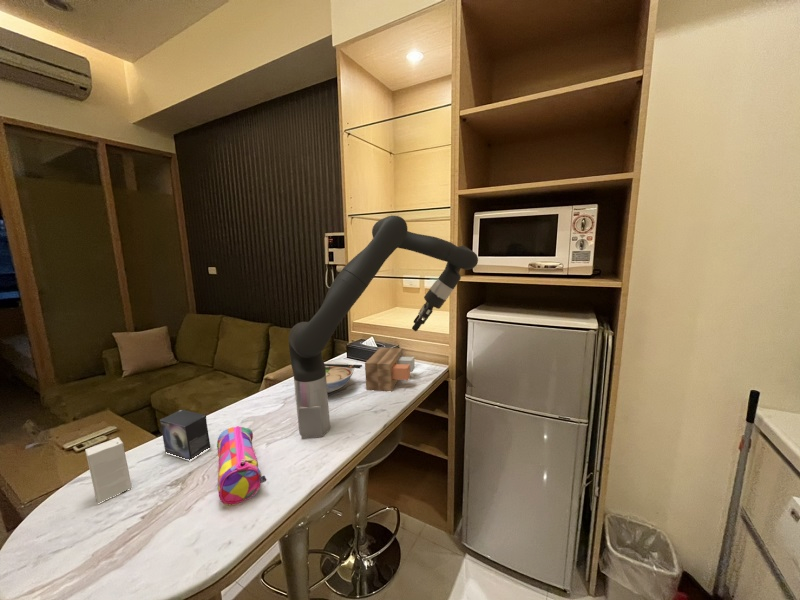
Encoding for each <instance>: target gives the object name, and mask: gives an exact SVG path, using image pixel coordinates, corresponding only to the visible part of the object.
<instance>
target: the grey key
mask: <svg viewBox="0 0 800 600" xmlns="http://www.w3.org/2000/svg"><path fill="white" fill-rule="evenodd" d="M398 364H410V373H413V371H414V370H415V367H416V366H415V356H402V357H399V358H398Z"/></svg>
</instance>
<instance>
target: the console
mask: <svg viewBox="0 0 800 600" xmlns="http://www.w3.org/2000/svg"><path fill="white" fill-rule="evenodd" d="M399 357H403V348H402V347H398V348H397V347H379V348H378V349H377V350H376V351H375V352H374V353H373V354H372V355H371V357H369V358H368V359H367V360H366V361H365V362H364V370H365V374H364V375H365V388H366V391H372V390H374V391H375V392H387V391H391V392H392V391H393V390H394V388H395V386H396V385H395V384H397V383H398V381H399V380H397V379H392V367H393V365H394V364H398V358H399ZM392 389H393V390H392Z"/></svg>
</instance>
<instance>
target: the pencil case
mask: <svg viewBox="0 0 800 600" xmlns="http://www.w3.org/2000/svg"><path fill="white" fill-rule="evenodd" d="M253 438H254V434H253V430H251V428H249V427H248V428H247V427H244V426H235V427H234V426H233V427H230V428H226V429H224V430H223V431H222V432H221V433H220V434H219V435H218V438H217V442H216V447H217V456H218V471H217V472H218V473H217V475H218V476H217V490H218V491H217V492H218V498H219V500H220V502H221V503H222V504H224V505H226V506H235V505H237V504H240V503H243V502H246V501H248V500H249V499H251V498H252V497H254V496H255V495H256V494H257V492H258V490H259V489H260V488H261V484H262V483H265V482H267V480H268V479H267V478H266V476H265V475H262V473H261V470H260V468H259V462H258V458H257V456H256V452H255V450H254V446H253Z"/></svg>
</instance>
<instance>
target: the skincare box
mask: <svg viewBox="0 0 800 600" xmlns="http://www.w3.org/2000/svg"><path fill="white" fill-rule="evenodd" d="M124 445H125V444H124V442H123V441H122V440H121V438H120V436H119V437H118V436H117V437H115V438H112V439H110V440H107V441H104V442H102V443H101V442H100V443H98V444H95V445H93V446H91V447H89V448H86V449H85V450H84V451H85V455H86V459H87V460H86V461H87V465H88V469H89V473H90V477H91V482H92V487H93V491H94V495H95V498H96V502H97V504H98V503H100V502H102V501H104V500H106V499H108V498H110V497H113V496H115V495H117V494H119V493H122V492H124V491H126V490H128V489H130V488H132V489H133V485H132V482H131V476H130V471H129V470H130V469H129V466H128V461H127V457H126V452H125V448H124ZM130 490H131V489H130ZM128 491H129V490H128ZM126 492H127V491H126ZM124 493H125V492H124ZM122 494H123V493H122ZM119 495H120V494H119ZM117 496H118V495H117ZM115 497H116V496H115ZM113 498H114V497H113Z"/></svg>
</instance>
